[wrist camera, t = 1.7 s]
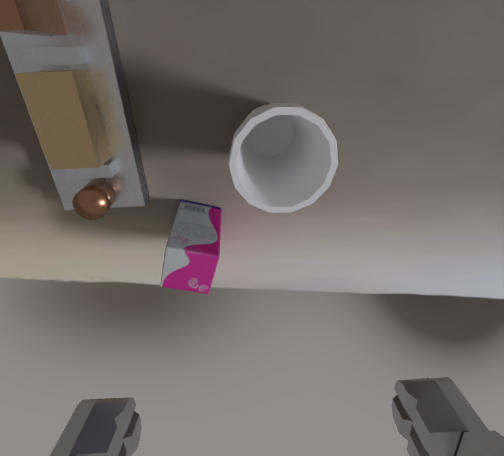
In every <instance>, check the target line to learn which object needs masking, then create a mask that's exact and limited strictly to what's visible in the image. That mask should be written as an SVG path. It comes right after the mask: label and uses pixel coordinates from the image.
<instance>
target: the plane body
mask: <svg viewBox="0 0 504 456" xmlns="http://www.w3.org/2000/svg"><path fill="white" fill-rule="evenodd" d="M0 36H1V39H2V42H3V44H4V47H5V50H6V52H7V55H8V58H9V61H10V63H11V66H12V69H13V71H14V74H15V73H23V72H36V71H59V70H88V69H89V70H90V73H91V77H92V81H93V85H94V89H95V93H96V97H97V100H98V104H99V108H100V112H101V116H102V120H103V123H104V127H105V131H106V135H107V139H108V143H109V147H110V150H111V154H112V157H111V158H110V159H109V160H107V161H106V162H105V163H104V164H103V165H102V166H100V167H99V168H79V169H58V170H50V171H51V174H52V177H53V180H54V182H55V185H56V188H57V190H58V193H59V196H60V198H61V201H62V204H63V207H64V209H65V210H75V211H76V212H77V213H78V214H79V215H80V216H82V217H84V218H86V219H91V220H95V219H99V218H101V217H102V216H103V215H104V214H105V213H106V212H107V210H108V209H109V208H117V207H136V206H145V205H146V204H147V202H148V200H149V198H150V197H149V192H148V188H147V183H146V178H145V174H144V169H143V164H142V159H141V155H140V150H139V145H138V141H137V136H136V131H135V126H134V122H133V117H132V112H131V108H130V103H129V98H128V93H127V89H126V84H125V79H124V75H123V70H122V65H121V60H120V56H119V51H118V46H117V42H116V37H115V32H114V28H113V23H112V18H111V13H110V9H109V4H108V0H0ZM15 77H16V75H15ZM16 79H17V78H16ZM17 82H18V81H17ZM18 85H19V83H18ZM19 88H20V86H19ZM20 90H21V89H20ZM21 93H22V91H21ZM22 96H23V94H22ZM23 98H24V97H23ZM24 101H25V100H24ZM25 104H26V102H25ZM26 106H27V105H26ZM27 109H28V108H27ZM28 112H29V110H28ZM29 115H30V113H29ZM30 117H31V116H30ZM31 120H32V119H31ZM32 123H33V121H32ZM33 125H34V124H33ZM34 128H35V127H34ZM35 131H36V129H35ZM36 134H37V132H36ZM37 136H38V135H37ZM38 139H39V138H38ZM39 142H40V140H39ZM40 144H41V143H40ZM41 147H42V146H41ZM42 150H43V148H42ZM43 152H44V151H43ZM44 155H45V154H44ZM45 158H46V156H45ZM46 161H47V159H46ZM47 163H48V162H47ZM48 166H49V165H48ZM49 169H50V167H49Z"/></svg>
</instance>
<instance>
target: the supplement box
mask: <svg viewBox="0 0 504 456" xmlns="http://www.w3.org/2000/svg"><path fill="white" fill-rule="evenodd" d="M221 212H222V210H221V208H218V207H214V206H209V205H204V204H200V203H195V202H190V201H185V200H181V201H180V204H179V207H178V210H177V213H176V216H175V220H174V223H173V226H172V229H171V232H170V236H169V239H168V242H167V245H166V249H165V255H164V263H163V270H162V278H161V285H160V286H161V287H167V288H173V289H180V290H187V291H193V292H199V293H206V294H209V291H210V287H211V284H212V280H213V277H214V273H215V270H216V267H217V263H218V259H219V253H220V231H221Z"/></svg>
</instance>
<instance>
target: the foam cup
mask: <svg viewBox="0 0 504 456" xmlns="http://www.w3.org/2000/svg"><path fill="white" fill-rule="evenodd" d="M337 166H338V155H337V141H336V139H335V137H334V136H333V134H332V132H331V131H330V129H329V128H328V126H327V124H326V123H325V121H324V120H323V119H322V118H321V117H319V116H318V115H316V114H314V113H313V112H311V111H309V110H307V109H305V108H304V107H302V106H300V105H298V104H296V103H270V104H268V105H262V106H260V107H258V108H256V109H254V110H252V112H251V113H250V114H249V115H248V116H247V117H246V119H245V120H244V121H243V123H242V124H241V125H240V126H239V128H238V129H237V130H236V132H235V133H234V136H233V140H232V145H231V150H230V154H229V167H230V171H231V175H232V179H233V183H234V187H235V188H236V189H237V190H238V192H239V193H240V194H241V195H242V196H243V197H244V198H245V200H246V201H247V202H248V203H249V204H251V205H253V206H255V207H258V208H260V209H262V210H265V211H267V212H269V213H282V212H294V211H296V210H299V209H301V208H303V207H306V206H308V205H310V204H313V203H314V202H315V201H316V200H317V199H318V198H319V197H320V196H321V195H322V194H323V193H324V192H325V191H326V190H327V189H328V188H329V186H330V184H331V181H332V179H333V176H334V174H335V171H336V169H337Z"/></svg>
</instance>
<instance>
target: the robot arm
mask: <svg viewBox="0 0 504 456" xmlns="http://www.w3.org/2000/svg"><path fill="white" fill-rule="evenodd" d="M395 391H396V393H397V396H395V398H393V401H392V412H393V417H394V420H395V424H396V426H397V428H398V431H399V433H400V434H401V435H402V436H403V437H405V438H406V439H407V440H408V447H407V451H408V453H409V455H410V456H504V437H503V436H502V435H500V434H499V433H497V432H496V431H489V430H488V429H487V427H486V426H485V425H484V423H483V422H482V420H481V419H480V418H479V416H478V415H477V414H476V412H475V411H474V409H473V408H472V407H471V405H470V404H469V403H468V401H467V400H466V398H465V397H464V396H463V395H462V393H461V392H460V390H459V389H458V387H457V386H456V385H455V384H454V382H453V381H452V380H451V379H450V378H448V377H443V378H431V379H430V378H423V379H410V380H398V381H397V382H396V384H395ZM135 406H136V403H135V401H134V399H133V398H110V399H87V400H82V401H81V402H80V403H79V404H78V405H77V407H76V409H75V411H74V413H73V414H72V416H71V418H70V420H69V422H68V424H67V425H66V427H65V429H64V431H63V433H62V434H61V436H60V438H59V440H58V442H57V444H56V445H55V447H54V449H53V451H52V453H51V455H50V456H131V455H132V454H133V453H134V452H135V451H136V449H137V447H138V444H139V440H140V433H141V419H140V416H139V414H138V413H136V412H135V411H134V409H135Z"/></svg>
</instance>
